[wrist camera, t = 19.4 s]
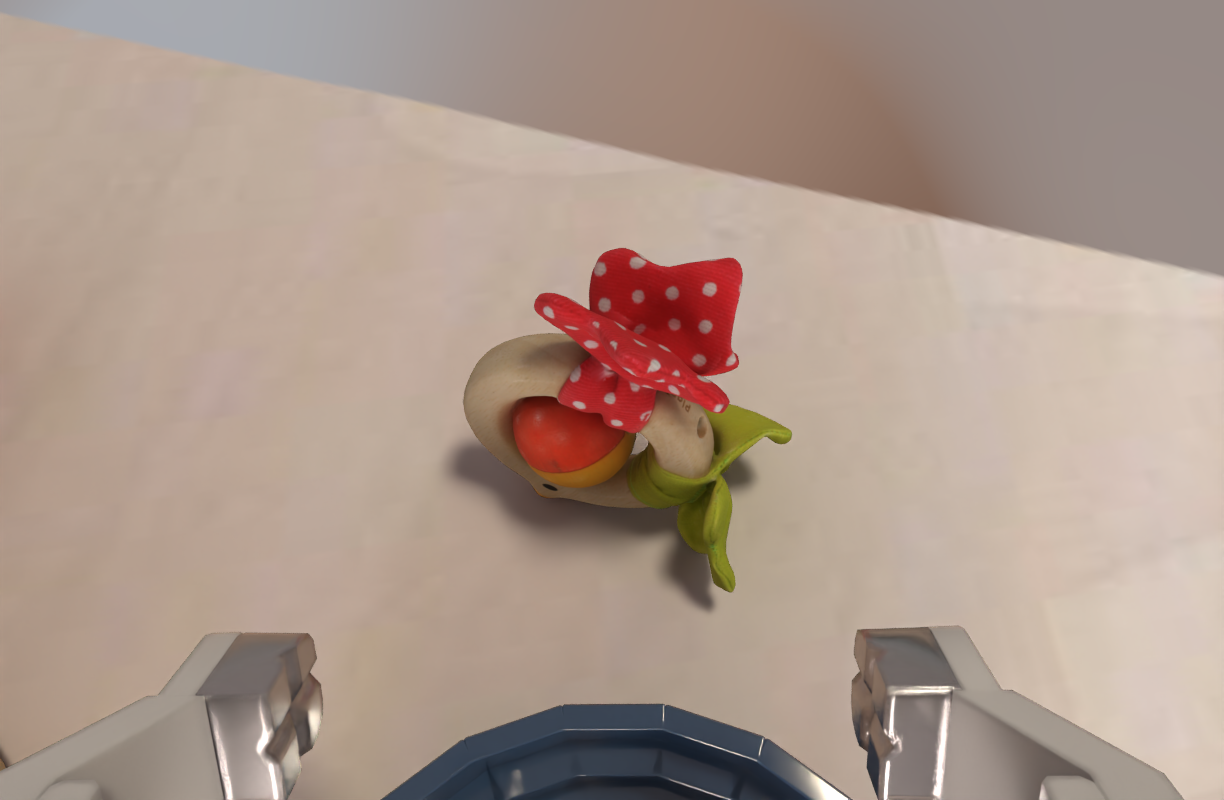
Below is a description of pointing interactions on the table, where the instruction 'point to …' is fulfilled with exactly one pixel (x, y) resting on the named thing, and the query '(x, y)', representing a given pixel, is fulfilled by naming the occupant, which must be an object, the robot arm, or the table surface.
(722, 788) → the bowl
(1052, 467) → the table surface
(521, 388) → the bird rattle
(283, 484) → the table surface
